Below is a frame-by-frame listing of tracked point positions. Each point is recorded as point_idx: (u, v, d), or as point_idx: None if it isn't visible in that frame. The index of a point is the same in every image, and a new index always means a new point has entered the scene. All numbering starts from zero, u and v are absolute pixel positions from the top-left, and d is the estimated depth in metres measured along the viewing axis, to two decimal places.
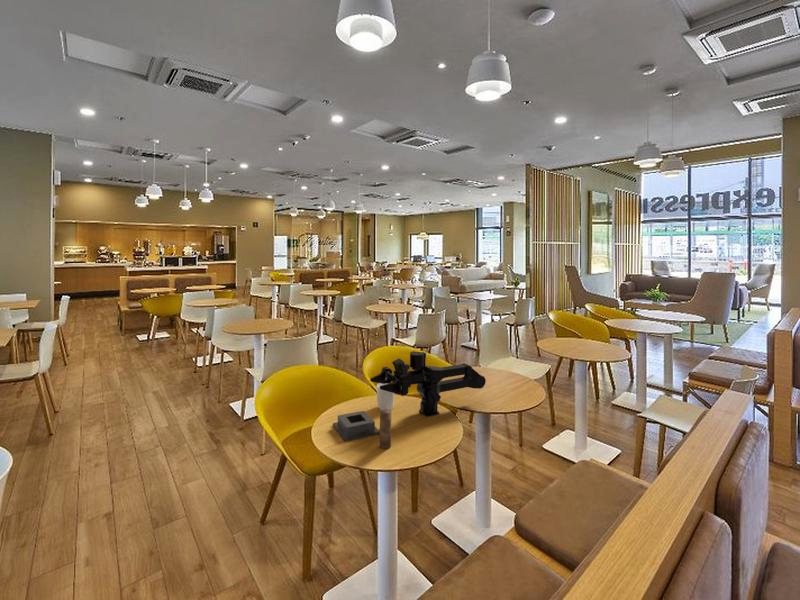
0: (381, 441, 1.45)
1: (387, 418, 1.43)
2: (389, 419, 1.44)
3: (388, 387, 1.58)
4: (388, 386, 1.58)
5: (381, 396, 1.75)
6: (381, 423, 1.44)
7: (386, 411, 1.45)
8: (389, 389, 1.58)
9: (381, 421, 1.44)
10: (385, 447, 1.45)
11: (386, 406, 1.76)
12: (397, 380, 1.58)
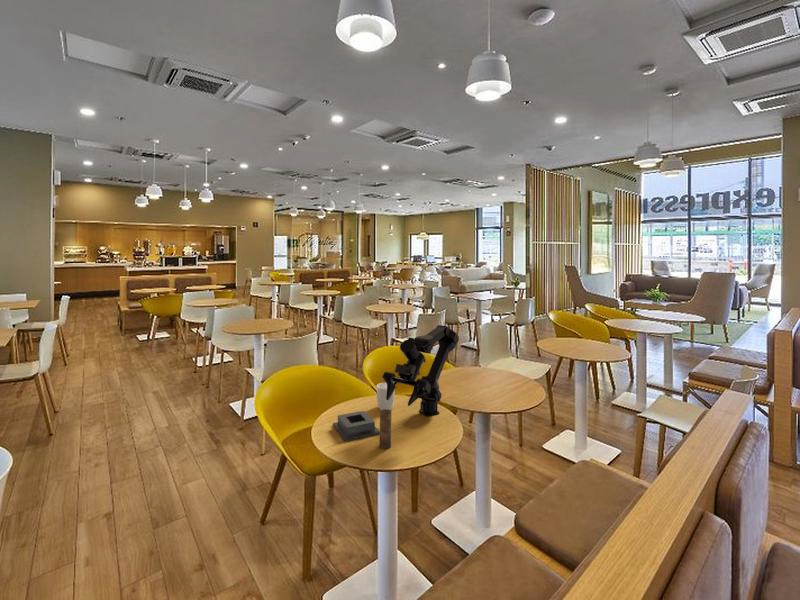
0: (381, 441, 1.45)
1: (387, 418, 1.43)
2: (389, 419, 1.44)
3: (414, 398, 1.50)
4: (413, 398, 1.50)
5: (381, 396, 1.75)
6: (381, 423, 1.44)
7: (386, 411, 1.45)
8: (415, 399, 1.51)
9: (381, 421, 1.44)
10: (385, 447, 1.45)
11: (386, 406, 1.76)
12: (417, 387, 1.49)
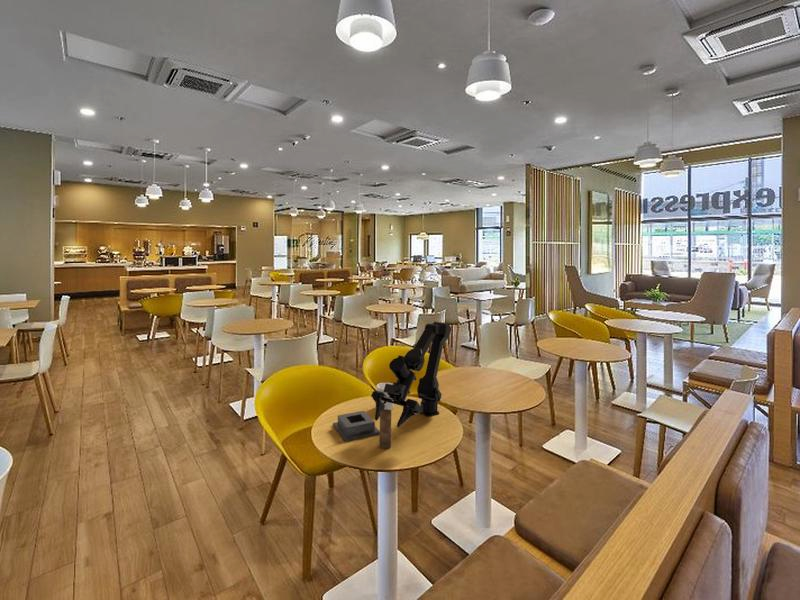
0: (381, 441, 1.45)
1: (387, 418, 1.43)
2: (389, 419, 1.44)
3: (403, 419, 1.45)
4: (403, 419, 1.44)
5: None
6: (381, 423, 1.44)
7: (386, 411, 1.45)
8: (405, 419, 1.45)
9: (381, 421, 1.44)
10: (385, 447, 1.45)
11: (386, 406, 1.76)
12: (406, 408, 1.44)
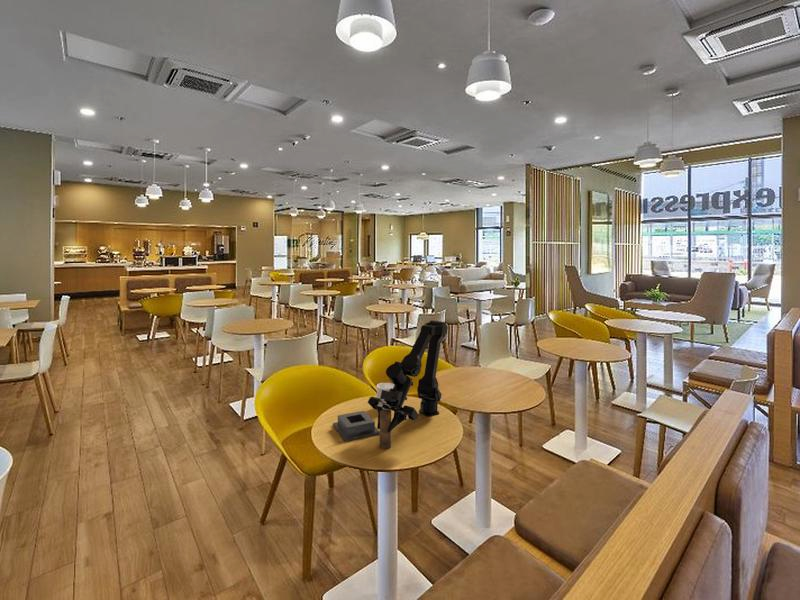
0: (381, 441, 1.45)
1: (387, 418, 1.43)
2: (389, 419, 1.44)
3: (394, 424, 1.44)
4: (394, 424, 1.44)
5: None
6: (381, 423, 1.44)
7: (386, 411, 1.45)
8: (396, 425, 1.45)
9: (381, 421, 1.44)
10: (385, 447, 1.45)
11: None
12: (397, 413, 1.44)
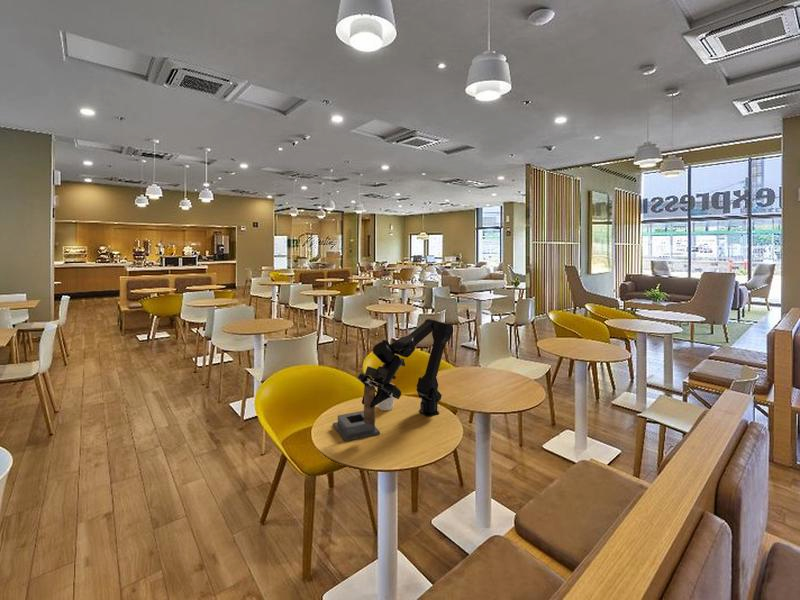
0: (364, 416, 1.49)
1: (370, 394, 1.46)
2: (372, 395, 1.47)
3: (377, 400, 1.47)
4: (376, 400, 1.47)
5: None
6: (364, 398, 1.48)
7: (370, 387, 1.48)
8: (379, 401, 1.48)
9: (364, 396, 1.48)
10: (368, 422, 1.48)
11: (386, 406, 1.76)
12: (380, 390, 1.46)
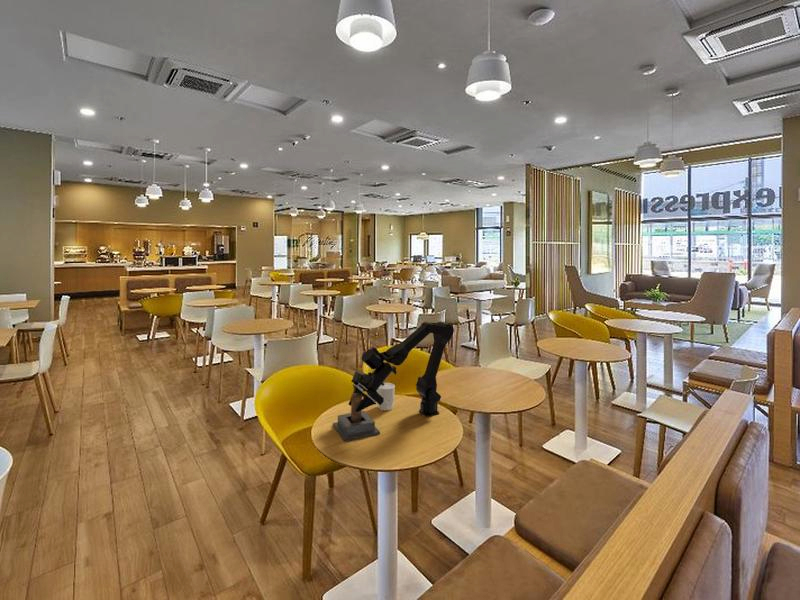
0: (351, 421, 1.57)
1: (355, 401, 1.55)
2: (357, 402, 1.55)
3: (362, 405, 1.53)
4: (362, 405, 1.53)
5: None
6: (351, 404, 1.56)
7: (357, 394, 1.57)
8: (364, 406, 1.54)
9: (351, 402, 1.56)
10: None
11: (386, 406, 1.76)
12: (365, 395, 1.52)
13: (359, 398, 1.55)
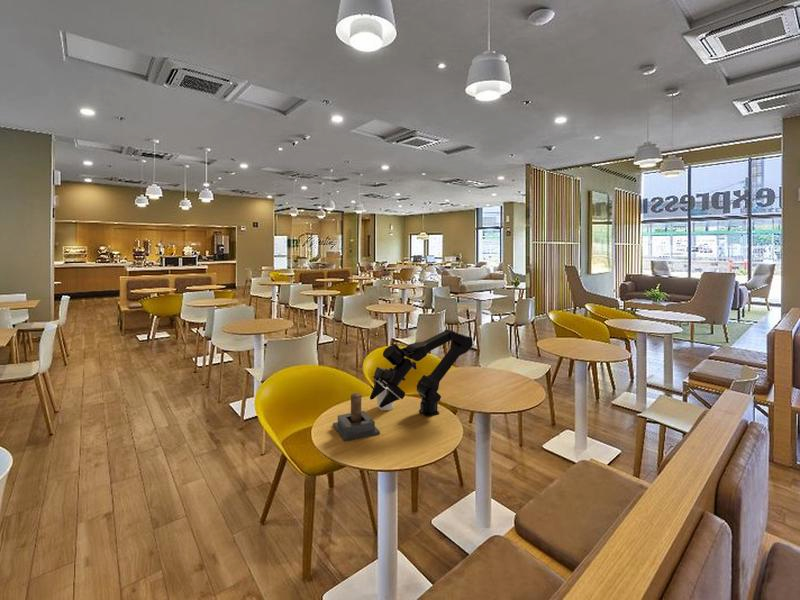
0: (351, 421, 1.57)
1: (354, 401, 1.55)
2: (357, 402, 1.55)
3: (386, 401, 1.57)
4: (385, 401, 1.57)
5: (381, 396, 1.75)
6: (351, 404, 1.56)
7: (357, 395, 1.56)
8: (388, 402, 1.57)
9: (351, 403, 1.56)
10: None
11: (386, 406, 1.76)
12: (388, 391, 1.56)
13: (358, 398, 1.55)
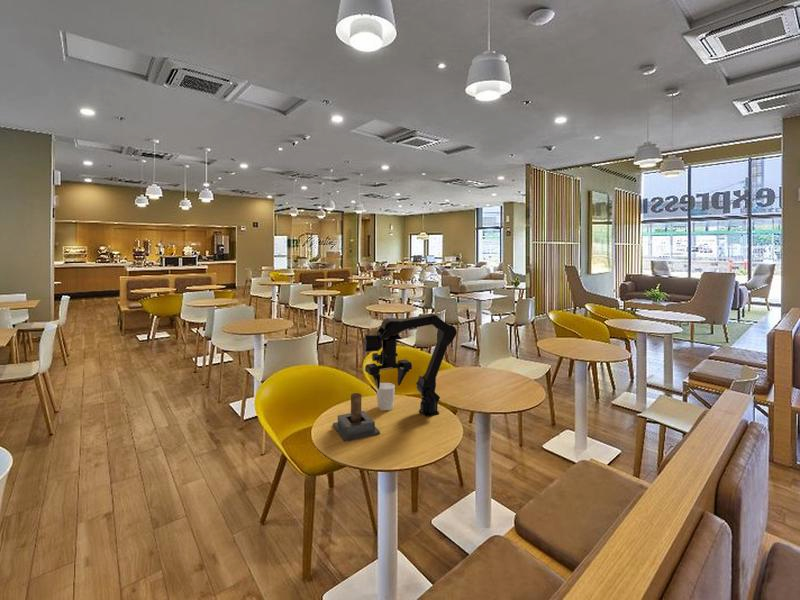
0: (351, 421, 1.57)
1: (354, 401, 1.55)
2: (357, 402, 1.55)
3: (375, 381, 1.65)
4: (375, 381, 1.65)
5: (381, 396, 1.75)
6: (351, 404, 1.56)
7: (357, 395, 1.56)
8: (376, 381, 1.64)
9: (351, 403, 1.56)
10: None
11: (386, 406, 1.76)
12: None
13: (358, 398, 1.55)
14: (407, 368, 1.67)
